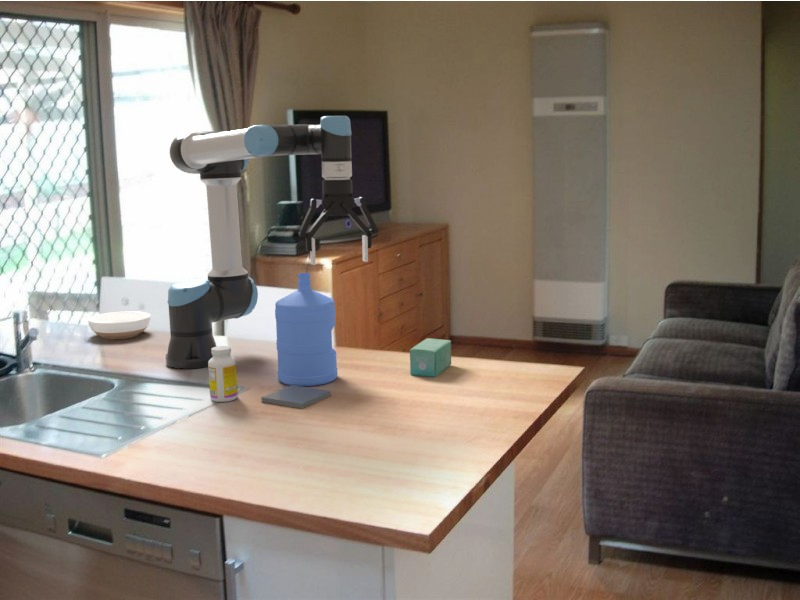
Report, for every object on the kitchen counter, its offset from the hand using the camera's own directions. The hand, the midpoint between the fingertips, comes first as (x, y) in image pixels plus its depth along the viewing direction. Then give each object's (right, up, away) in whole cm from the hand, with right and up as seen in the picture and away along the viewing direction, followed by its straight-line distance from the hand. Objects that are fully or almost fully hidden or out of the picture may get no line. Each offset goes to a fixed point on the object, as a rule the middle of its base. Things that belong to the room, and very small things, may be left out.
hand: (339, 262), depth 230 cm
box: (+24, -29, +15) cm, 40 cm away
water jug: (-9, -30, +8) cm, 33 cm away
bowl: (-76, -21, +66) cm, 102 cm away
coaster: (-10, -34, -9) cm, 36 cm away
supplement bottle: (-28, -34, -8) cm, 45 cm away
